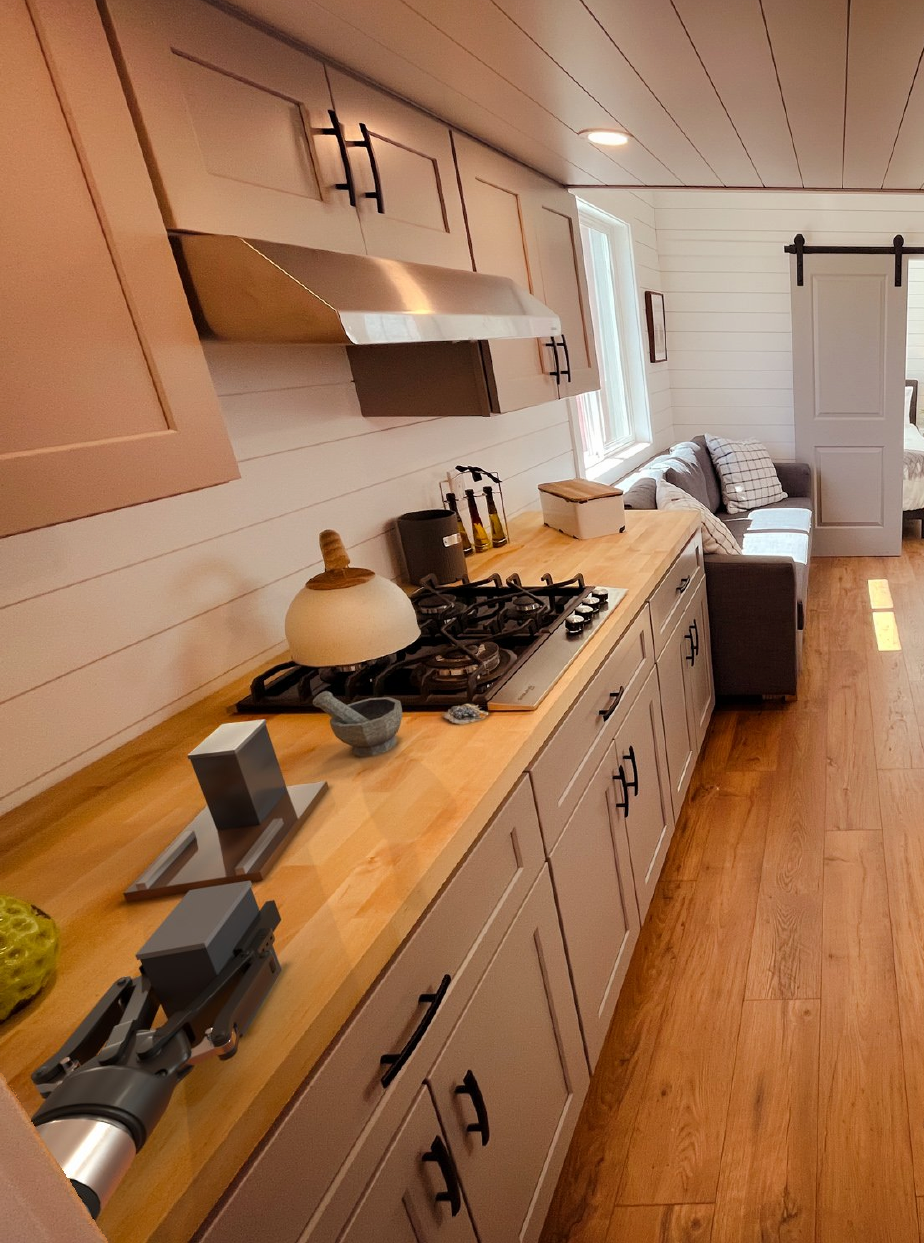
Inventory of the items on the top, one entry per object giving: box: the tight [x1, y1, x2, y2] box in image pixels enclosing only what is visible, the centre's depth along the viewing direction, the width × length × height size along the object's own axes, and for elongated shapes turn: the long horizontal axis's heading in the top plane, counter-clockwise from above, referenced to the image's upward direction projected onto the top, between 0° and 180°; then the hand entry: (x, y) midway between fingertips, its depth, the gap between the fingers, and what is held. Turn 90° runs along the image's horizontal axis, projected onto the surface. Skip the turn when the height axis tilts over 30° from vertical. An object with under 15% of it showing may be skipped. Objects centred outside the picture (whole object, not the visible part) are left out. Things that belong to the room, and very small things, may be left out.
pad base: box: [122, 719, 330, 903], centre depth 92 cm, size 14×20×14 cm
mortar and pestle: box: [312, 690, 403, 758], centre depth 113 cm, size 11×9×12 cm
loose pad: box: [134, 881, 283, 1046], centre depth 68 cm, size 5×8×12 cm, turn 16°
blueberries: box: [441, 703, 489, 725], centre depth 126 cm, size 7×8×2 cm
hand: (241, 916), depth 73 cm, fingers closed on loose pad, 5 cm apart
